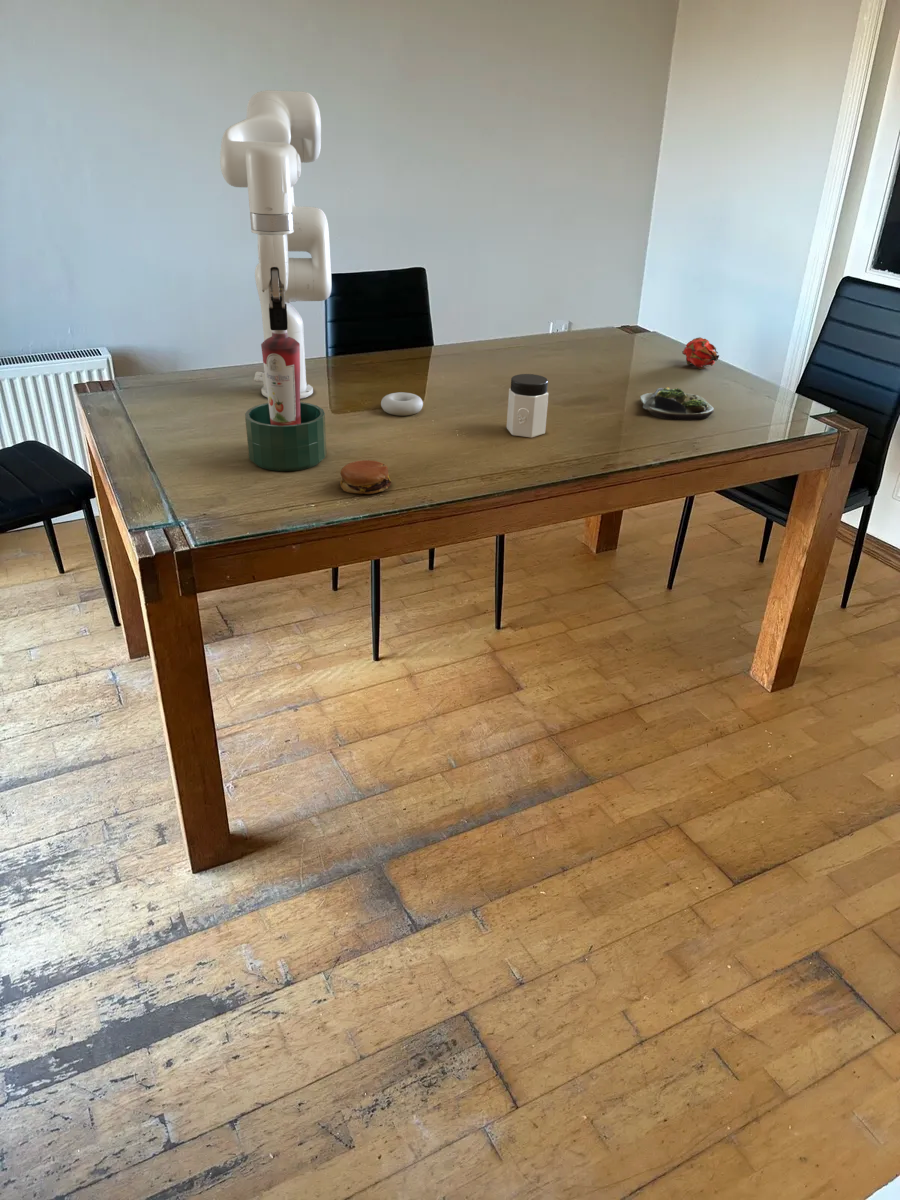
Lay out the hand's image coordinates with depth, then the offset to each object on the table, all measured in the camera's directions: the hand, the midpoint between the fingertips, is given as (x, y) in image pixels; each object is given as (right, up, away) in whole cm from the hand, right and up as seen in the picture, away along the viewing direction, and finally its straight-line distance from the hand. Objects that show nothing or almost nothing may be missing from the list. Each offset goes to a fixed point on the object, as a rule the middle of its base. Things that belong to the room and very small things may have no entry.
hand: (279, 326), depth 166 cm
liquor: (-1, -19, +11) cm, 22 cm away
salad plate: (+88, -5, +49) cm, 101 cm away
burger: (+16, -31, +2) cm, 35 cm away
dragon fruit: (+104, +15, +84) cm, 134 cm away
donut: (+21, -7, +42) cm, 47 cm away
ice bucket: (-1, -23, +13) cm, 26 cm away
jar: (+50, -14, +32) cm, 61 cm away
